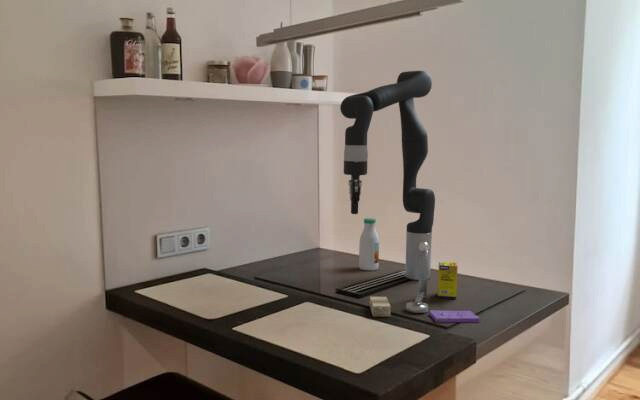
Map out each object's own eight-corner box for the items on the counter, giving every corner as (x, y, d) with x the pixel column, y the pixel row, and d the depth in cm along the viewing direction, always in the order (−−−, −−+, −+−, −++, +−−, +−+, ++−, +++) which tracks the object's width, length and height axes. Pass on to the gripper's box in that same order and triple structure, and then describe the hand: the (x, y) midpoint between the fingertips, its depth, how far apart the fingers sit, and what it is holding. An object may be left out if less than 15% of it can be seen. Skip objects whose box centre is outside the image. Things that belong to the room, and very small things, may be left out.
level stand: (369, 306, 170) (369, 296, 170) (386, 306, 170) (386, 296, 170) (373, 317, 159) (373, 307, 159) (391, 318, 159) (391, 307, 159)
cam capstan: (426, 314, 162) (428, 252, 160) (404, 311, 164) (406, 250, 162) (432, 297, 179) (434, 241, 177) (412, 295, 181) (414, 240, 179)
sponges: (429, 316, 163) (429, 310, 163) (471, 316, 164) (471, 309, 164) (436, 324, 156) (436, 318, 156) (479, 324, 157) (480, 317, 157)
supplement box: (456, 299, 179) (457, 266, 178) (437, 298, 180) (438, 265, 179) (455, 294, 185) (457, 262, 184) (437, 293, 186) (438, 261, 185)
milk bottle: (369, 271, 215) (370, 220, 212) (354, 268, 220) (355, 218, 218) (382, 269, 220) (383, 218, 218) (368, 265, 225) (369, 216, 223)
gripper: (342, 158, 183) (341, 211, 185) (344, 160, 170) (343, 216, 172) (365, 159, 183) (364, 211, 185) (369, 160, 170) (368, 216, 172)
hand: (354, 213), depth 178 cm, fingers closed
